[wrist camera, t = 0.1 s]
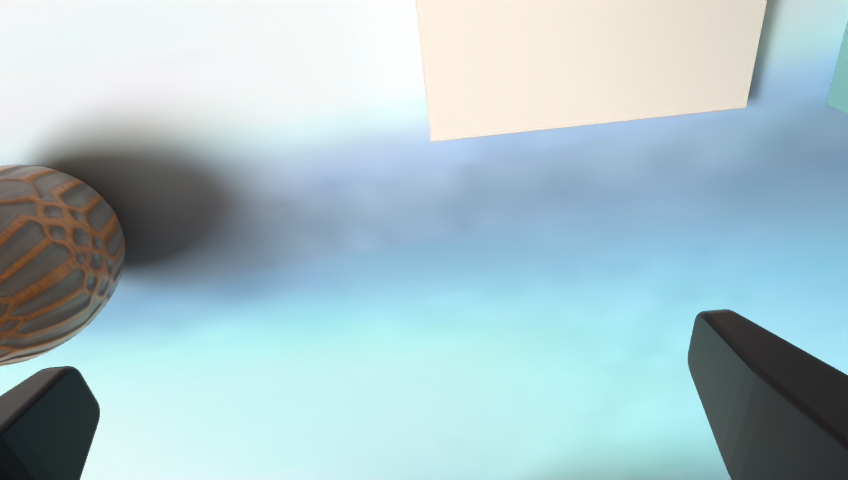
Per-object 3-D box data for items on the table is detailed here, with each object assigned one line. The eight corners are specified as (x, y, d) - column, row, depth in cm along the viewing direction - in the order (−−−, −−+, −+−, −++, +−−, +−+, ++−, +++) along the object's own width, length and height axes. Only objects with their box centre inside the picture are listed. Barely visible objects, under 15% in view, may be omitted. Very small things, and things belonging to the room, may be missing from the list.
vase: (-55, 167, 23) (-295, 291, 15) (92, 121, 22) (-86, 229, 14) (47, 298, 26) (-108, 453, 18) (178, 263, 25) (72, 412, 17)
